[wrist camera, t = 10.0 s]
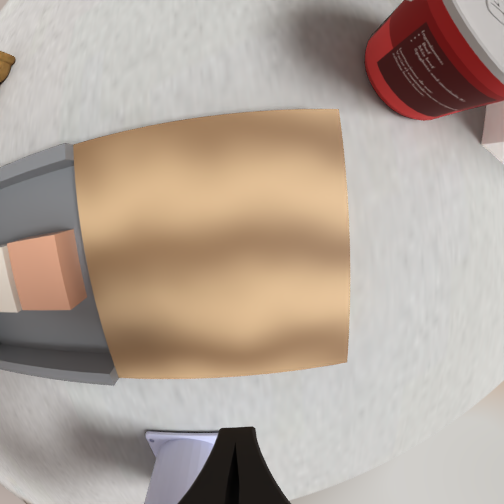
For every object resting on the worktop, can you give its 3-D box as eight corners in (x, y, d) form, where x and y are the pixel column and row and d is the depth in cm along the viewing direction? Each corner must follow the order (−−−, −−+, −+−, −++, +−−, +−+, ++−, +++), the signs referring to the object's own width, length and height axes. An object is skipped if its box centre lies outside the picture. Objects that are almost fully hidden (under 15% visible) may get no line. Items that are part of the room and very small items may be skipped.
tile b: (35, 301, 19) (17, 312, 17) (0, 301, 19) (-16, 311, 16) (21, 240, 18) (1, 247, 15) (-12, 247, 18) (-30, 253, 15)
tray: (129, 360, 21) (114, 385, 17) (2, 349, 21) (-17, 365, 17) (91, 148, 17) (64, 143, 14) (-33, 193, 17) (-58, 196, 14)
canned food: (435, 42, 16) (518, -7, 5) (450, 130, 18) (558, 112, 7) (353, 21, 16) (419, -64, 5) (367, 116, 17) (471, 64, 7)
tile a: (87, 297, 19) (70, 310, 17) (40, 298, 19) (22, 310, 16) (73, 228, 18) (54, 234, 15) (26, 237, 18) (6, 243, 15)
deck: (337, 344, 21) (347, 362, 18) (129, 360, 21) (118, 377, 18) (327, 118, 17) (338, 109, 15) (91, 148, 17) (73, 144, 15)
